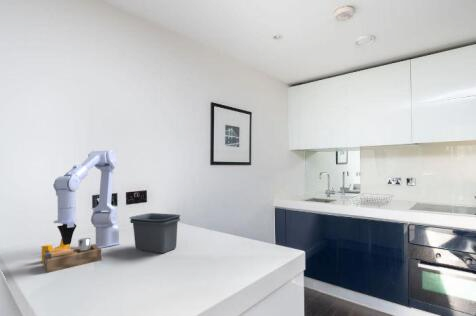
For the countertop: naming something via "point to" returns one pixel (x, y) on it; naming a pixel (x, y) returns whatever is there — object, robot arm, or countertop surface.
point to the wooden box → (71, 259)
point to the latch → (60, 252)
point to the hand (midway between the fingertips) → (66, 244)
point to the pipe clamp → (49, 247)
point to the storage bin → (155, 231)
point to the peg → (83, 245)
